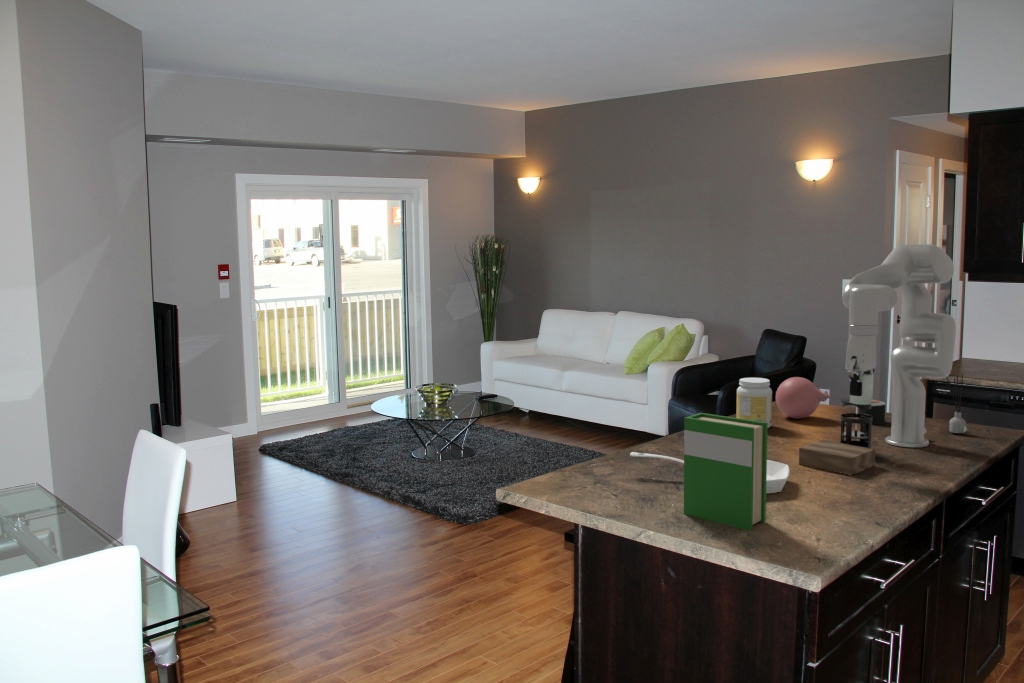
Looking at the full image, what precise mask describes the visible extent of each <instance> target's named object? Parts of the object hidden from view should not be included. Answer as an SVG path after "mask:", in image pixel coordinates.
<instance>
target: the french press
mask: <svg viewBox="0 0 1024 683" xmlns="http://www.w3.org/2000/svg"><path fill="white" fill-rule="evenodd" d="M840 401H841V402H842V407H843V408H844V407H845V406H855V412H849V413H841V414H840V441H839V443H844V444H849V445H855V446H860V447H866V448H871V449H872V426H873V425H872V416H870V415H869V414H859V412H858V410H859V409H861V410H869V409H871V404H868V405H860V404H853V403H850V397H846V398H845V397H844V398H841V400H840ZM859 418H861V419H859ZM853 424H855V429H854V430H853ZM858 424H860V425H859V428H860V429H859V431H858V430H857V429H858V428H857V427H858ZM852 439H853V440H852ZM854 439H855V440H854Z"/></svg>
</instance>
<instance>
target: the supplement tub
mask: <svg viewBox="0 0 1024 683" xmlns="http://www.w3.org/2000/svg"><path fill="white" fill-rule="evenodd" d="M738 381H739V383H738V385H739V386H738V388H736V413H735V414H736V415H735V416H736V417H735V418H740V419H746V420H753V421H760V422H767V423H768V425H767V429H769V428H770V427H771V426H772V422H773V421H772V417H773V414H772V413H773V412H772V411H773V409H772V408H773V390H772V388H771V387H770V386H771V383H770V382H771V381H770V379H768V378H764V377H743V378H740V379H739V380H738Z"/></svg>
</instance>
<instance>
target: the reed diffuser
mask: <svg viewBox="0 0 1024 683" xmlns="http://www.w3.org/2000/svg"><path fill="white" fill-rule="evenodd" d="M963 378H964V374H962V375H961V383H960V384H961V385H960V387H961V388H960V391H959V377H958V375H956V378H953V380H954V394H953V390H952V388H951V386H950V382H949V381H950V380H949V378H948V376H947V377H946V380H947V383H948V386H949V390H950V393H951V396H952V400H953V403H954V406H955V409H956V411H954V417H952V418H950V420H949V433H954V434H964V433H966V432H967V431H968V428H967V425H966V424H967V422H966V420H965V419H963V417H962V412H961V405H962V404H961V403H962V391H963V381H964V380H963ZM956 382H957V383H956ZM956 384H957V385H956ZM956 387H957V388H956ZM959 393H960V394H959ZM954 396H955V398H954Z"/></svg>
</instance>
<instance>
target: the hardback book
mask: <svg viewBox="0 0 1024 683" xmlns="http://www.w3.org/2000/svg"><path fill="white" fill-rule="evenodd" d="M683 421H684V422H683V424H684V426H683V427H684V428H683V429H684V430H683V432H684V433H683V436H684V438H683V439H684V440H683V447H684V448H683V461H684V464H683V514H684V515H685V514H687V516H689V515H691V517H693V516H695V518H697V517H699V518H698V519H701V518H702V520H705V519H706V521H709V520H710V521H711V522H713V523H717V522H718V524H721V523H722V524H723V525H725V524H726V525H727V526H729V525H730V526H731V527H734V528H738V529H741V530H746V531H750V532H751V531H753V528H754V527H753V526H754V525H755V524H757V523H761V524H765V523H766V522H767V520H766V519H767V515H766V514H767V494H766V477H767V460H768V428H767V425H768V423H767V422H760V421H753V420H746V419H740V418H736V417H732V416H727V415H726V416H724V415H719V414H711V413H704V412H699V413H695V414H693V415H689V416H686V417H684V419H683ZM730 526H729V527H730Z"/></svg>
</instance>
